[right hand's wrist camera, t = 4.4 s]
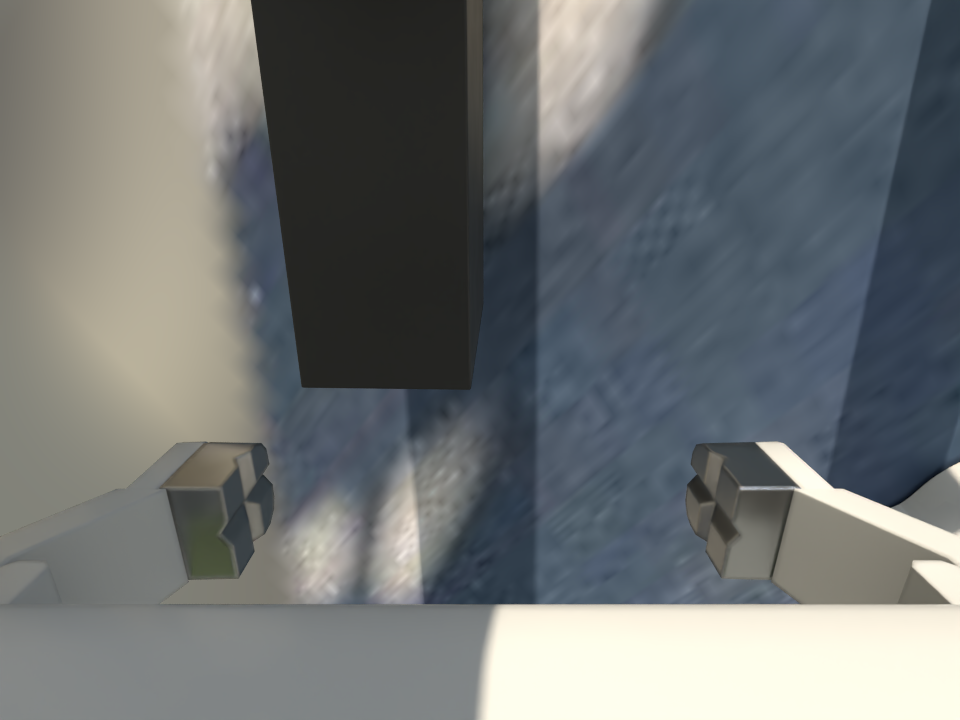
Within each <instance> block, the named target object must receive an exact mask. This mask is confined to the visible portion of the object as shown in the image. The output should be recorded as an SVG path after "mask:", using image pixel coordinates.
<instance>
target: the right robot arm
mask: <svg viewBox="0 0 960 720" xmlns="http://www.w3.org/2000/svg"><path fill="white" fill-rule="evenodd" d="M268 465H269V460H268V455H267V450H266V448H265V447H264V446H263V444H262V443H226V442H225V443H224V442H209V443H208V442H182V443H176V444H175V445H174V446H173V447H172V448H171V449H170V450H169V451H167V452H166V453H165V454H164V455H163V456H162V457H161V458H160V459H159V460H157V461H156V462H155V463H154V464H153V465H152V466H151V467H150V468H149V469H147V470H146V471H145V472H144V473H143V474H142V475H141V476H140V477H139V478H137V479H136V480H135V481H134V482H133V483H132V484H131V485H130V486H129V487H127V488H126V489H115V490H113V491H111V492H108V493H106V494H103V495H101V496H98V497H96V498H93V499H91V500H88V501H86V502H83V503H81V504H79V505H76V506H73V507H71V508H69V509H66V510H64V511H61V512H59V513H56V514H54V515H51V516H49V517H46V518H44V519H41V520H39V521H36V522H34V523H32V524H29V525H27V526H24V527H22V528H19V529H17V530H14V531H12V532H9V533H7V534H4V535H2V536H0V720H960V463H957V464H955V465H953V466H951V467H950V468H948V469H946V470H944V471H943V472H941V473H939V474H938V475H936V476H935V477H933V478H932V479H931V480H929V481H928V482H927V483H925V484H924V485H923V486H922V487H921V488H920V489H918V490H917V491H916V492H915V493H914V494H913V495H911V496H910V497H909V498H908V499H906V500H905V501H903V502H902V503H900V504H899V505H896V506H894V507H892V508H889V507H886V506H884V505H881V504H879V503H877V502H874V501H872V500H869V499H867V498H864V497H862V496H859V495H857V494H854V493H852V492H849V491H847V490H845V489H834V488H833V487H832V486H830V485H829V484H828V483H827V482H826V481H825V480H824V479H823V478H822V477H820V476H819V475H818V474H817V473H816V472H815V471H814V470H813V469H812V468H810V467H809V466H808V465H807V464H806V463H805V462H804V461H803V460H802V459H800V458H799V457H798V456H797V455H796V454H795V453H794V452H793V451H792V450H791V449H789V448H788V447H787V446H786V445H785V444H783V443H780V442H740V443H702V444H696V446H695V448H694V451H693V454H692V459H691V466H692V467H693V469H694V470H695V472H696V473H697V475H696V476H695V477H694V478H693V479H692V480H691V481H690V482H689V483H688V484H687V491H686V499H685V501H686V511H687V517H688V520H689V523H690V525H691V527H692V529H693V531H694V533H695V534H696V535H697V536H699V537H700V538H702V539H704V540H705V541H707V545H706V551H705V552H706V553H707V555H708V557H709V558H710V560H711V562H712V563H713V565H714V567H715V568H716V570H717V572H718V573H719V575H720V577H721V578H722V579H758V580H772V581H771V582H772V583H773V584H775V585H776V586H777V587H779V588H780V589H781V590H783V591H784V592H785V593H787V594H788V595H789V596H791V597H792V598H793V599H795V600H796V601H797V602H799V603H800V604H160V603H161V602H163V601H164V600H165V599H167V598H168V597H170V596H171V595H172V594H173V593H175V592H176V591H178V590H179V589H180V588H182V587H183V586H184V585H186V584H187V583H188V582H189V581H188V580H201V579H236V578H239V577H240V575H241V573H242V572H243V570H244V568H245V567H246V565H247V563H248V562H249V560H250V558H251V556H252V555H253V553H254V545H253V541H255V540H256V539H258V538H260V537H261V536H263V535H264V534H265V533H266V531H267V529H268V527H269V525H270V523H271V519H272V515H273V511H274V490H273V484H272V483H271V482H270V481H269V480H268V479H267V478H266V477H265V476H264V475H263V473H264V472H265V470H266V469H267V467H268Z"/></svg>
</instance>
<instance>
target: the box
mask: <svg viewBox="0 0 960 720" xmlns="http://www.w3.org/2000/svg"><path fill="white" fill-rule="evenodd" d="M251 5H252V12H253V20H254V28H255V35H256V43H257V50H258V58H259V65H260V73H261V81H262V88H263V96H264V103H265V111H266V119H267V126H268V134H269V141H270V149H271V157H272V164H273V172H274V179H275V187H276V195H277V202H278V210H279V217H280V225H281V233H282V240H283V248H284V255H285V263H286V271H287V278H288V286H289V293H290V301H291V308H292V316H293V324H294V331H295V339H296V346H297V354H298V362H299V369H300V377H301V384H302V387H303V388H380V389H458V390H469V389H471V384H472V377H473V370H474V364H475V357H476V350H477V343H478V336H479V330H480V323H481V316H482V309H483V0H251Z"/></svg>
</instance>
